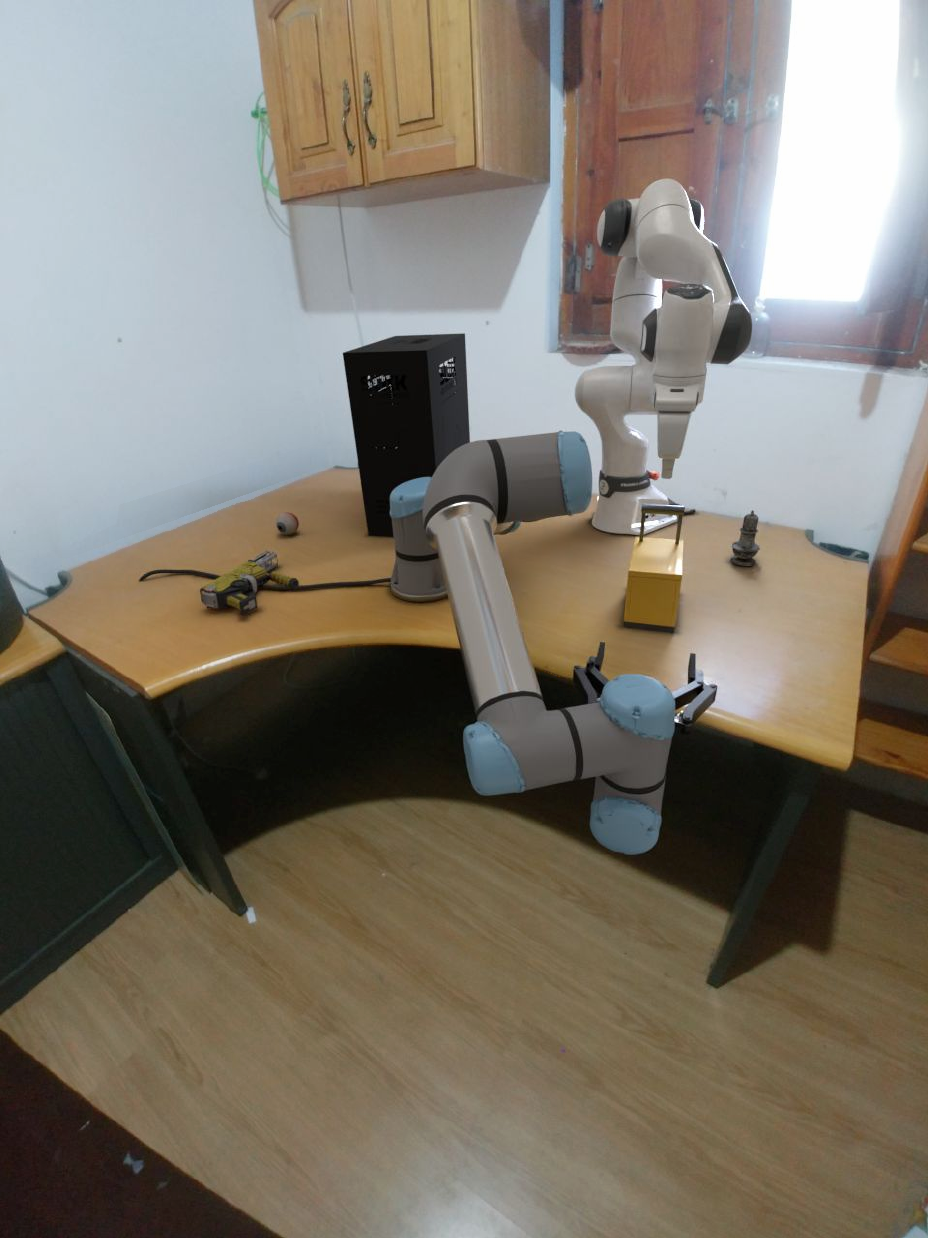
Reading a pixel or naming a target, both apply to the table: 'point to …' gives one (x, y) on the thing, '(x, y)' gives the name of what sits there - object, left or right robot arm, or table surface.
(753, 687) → the table surface
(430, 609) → the table surface
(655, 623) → the chest
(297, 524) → the eyeball
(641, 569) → the lid
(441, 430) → the cardboard box
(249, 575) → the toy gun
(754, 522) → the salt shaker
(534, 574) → the table surface
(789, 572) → the table surface
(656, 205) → the right robot arm
